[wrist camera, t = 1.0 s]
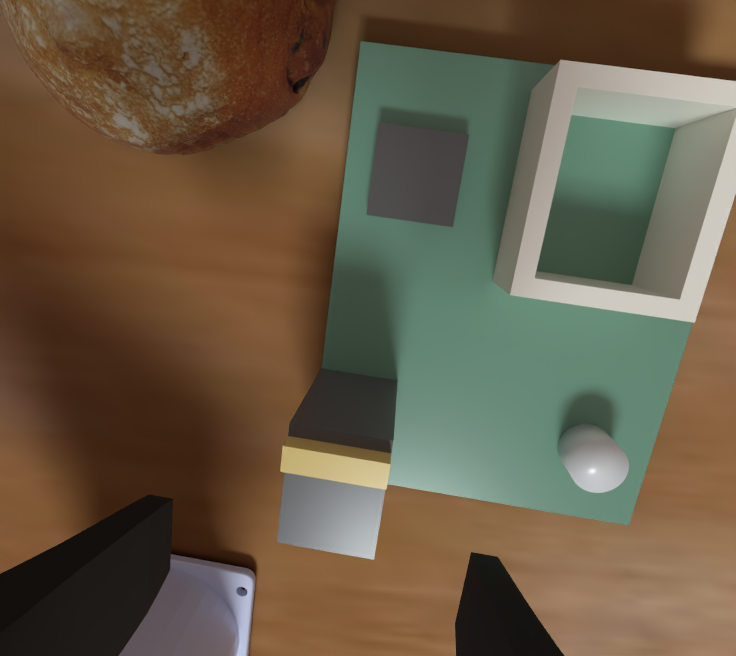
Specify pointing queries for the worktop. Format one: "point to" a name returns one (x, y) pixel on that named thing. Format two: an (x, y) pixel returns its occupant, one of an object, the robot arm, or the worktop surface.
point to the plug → (338, 464)
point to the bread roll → (173, 64)
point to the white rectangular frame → (674, 198)
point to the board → (497, 289)
